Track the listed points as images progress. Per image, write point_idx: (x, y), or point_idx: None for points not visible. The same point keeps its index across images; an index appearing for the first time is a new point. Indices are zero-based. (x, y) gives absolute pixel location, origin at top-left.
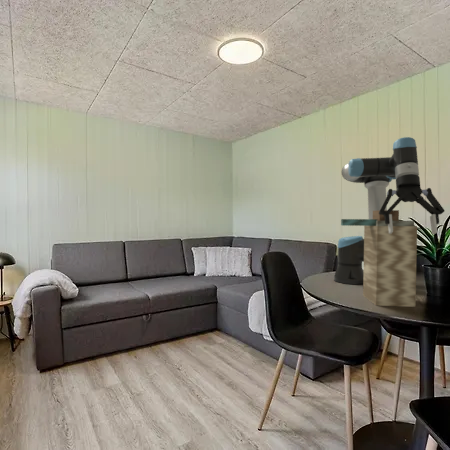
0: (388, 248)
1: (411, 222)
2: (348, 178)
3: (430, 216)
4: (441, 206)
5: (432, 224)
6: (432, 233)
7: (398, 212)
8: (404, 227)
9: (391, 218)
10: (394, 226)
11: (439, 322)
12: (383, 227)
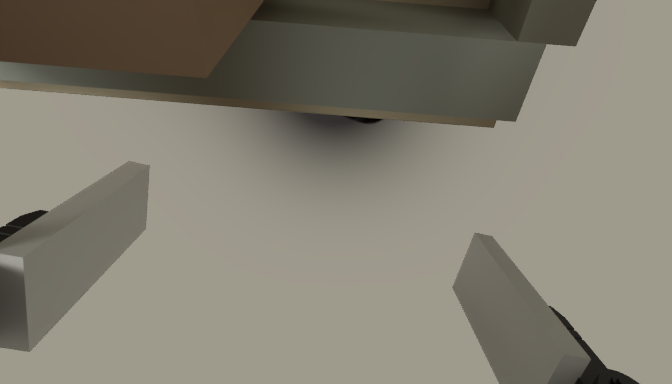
0: None
1: (462, 104)
2: None
3: (553, 364)
4: None
5: (492, 310)
6: (470, 246)
7: (218, 42)
8: (320, 107)
9: (62, 308)
10: (182, 101)
11: (367, 121)
12: (40, 83)
